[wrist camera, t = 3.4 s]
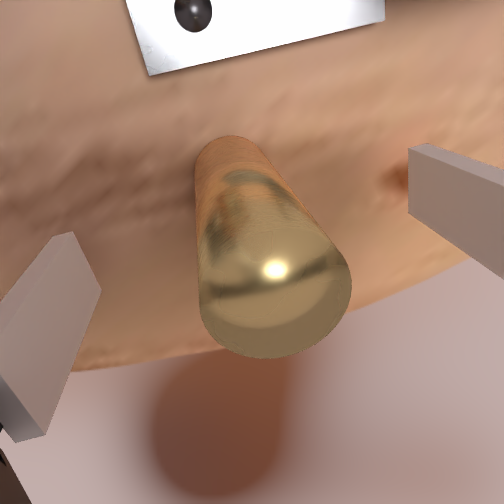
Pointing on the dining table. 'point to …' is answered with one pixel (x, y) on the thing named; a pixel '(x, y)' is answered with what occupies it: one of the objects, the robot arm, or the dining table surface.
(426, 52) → the dining table surface
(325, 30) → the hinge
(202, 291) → the hinge pin
